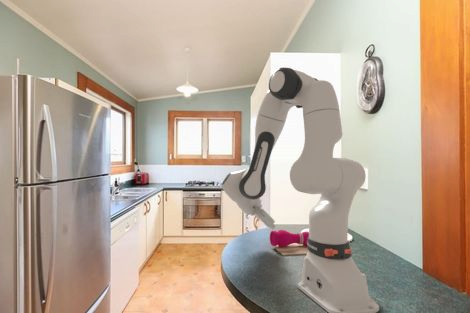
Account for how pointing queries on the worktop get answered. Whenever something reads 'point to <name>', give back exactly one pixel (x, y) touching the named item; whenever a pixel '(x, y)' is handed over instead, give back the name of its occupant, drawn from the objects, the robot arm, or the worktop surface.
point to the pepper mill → (288, 238)
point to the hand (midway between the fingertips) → (273, 227)
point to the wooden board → (292, 249)
